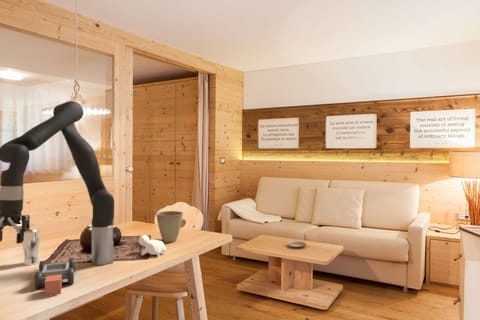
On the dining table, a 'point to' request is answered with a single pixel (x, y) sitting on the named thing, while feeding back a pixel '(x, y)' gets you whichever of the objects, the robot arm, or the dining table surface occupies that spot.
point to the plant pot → (169, 224)
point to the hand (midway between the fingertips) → (9, 242)
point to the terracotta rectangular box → (53, 285)
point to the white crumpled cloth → (152, 246)
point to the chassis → (55, 271)
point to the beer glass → (31, 246)
